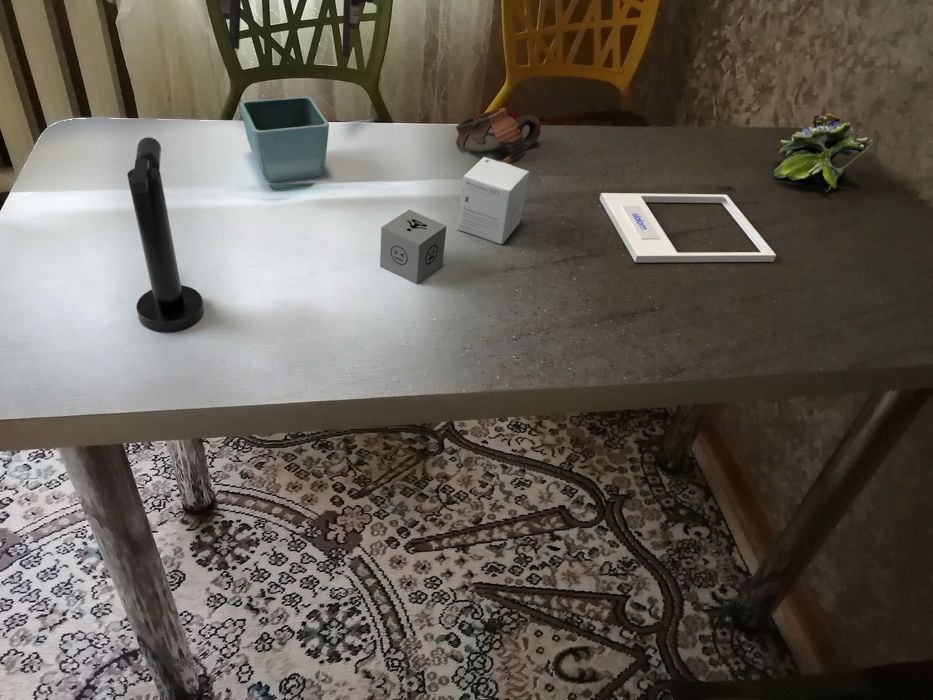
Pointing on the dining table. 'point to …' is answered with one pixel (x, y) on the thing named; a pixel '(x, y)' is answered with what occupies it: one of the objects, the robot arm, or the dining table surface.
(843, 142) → the passion flower
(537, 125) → the pottery mug
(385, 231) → the dice cube
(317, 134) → the flower pot
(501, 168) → the product box
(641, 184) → the dining table surface
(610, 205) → the photo frame
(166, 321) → the tap
